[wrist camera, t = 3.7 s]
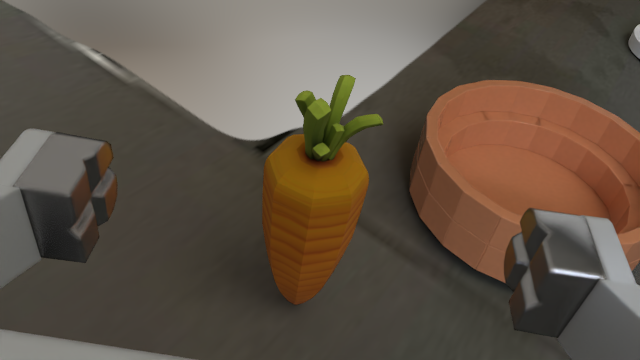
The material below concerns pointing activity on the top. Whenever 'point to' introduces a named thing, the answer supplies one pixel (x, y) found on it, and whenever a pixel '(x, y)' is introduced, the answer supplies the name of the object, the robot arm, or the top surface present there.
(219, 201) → the top surface
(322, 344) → the top surface
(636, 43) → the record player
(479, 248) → the pot
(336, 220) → the carrot
